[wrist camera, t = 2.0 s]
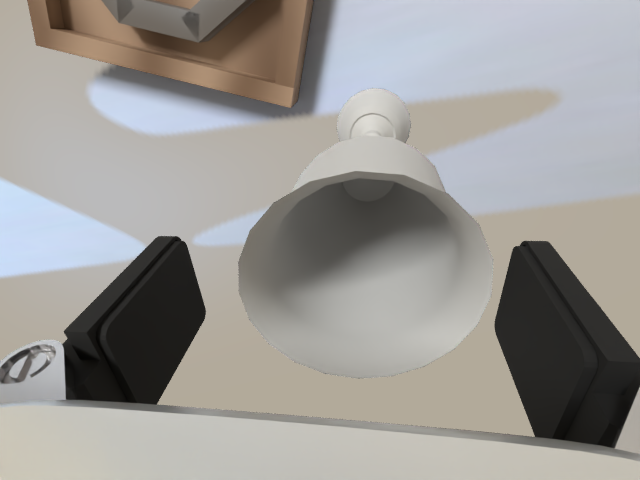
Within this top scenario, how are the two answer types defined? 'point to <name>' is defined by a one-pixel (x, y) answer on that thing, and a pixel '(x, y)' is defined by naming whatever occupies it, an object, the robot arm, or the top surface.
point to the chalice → (366, 254)
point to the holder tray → (187, 40)
